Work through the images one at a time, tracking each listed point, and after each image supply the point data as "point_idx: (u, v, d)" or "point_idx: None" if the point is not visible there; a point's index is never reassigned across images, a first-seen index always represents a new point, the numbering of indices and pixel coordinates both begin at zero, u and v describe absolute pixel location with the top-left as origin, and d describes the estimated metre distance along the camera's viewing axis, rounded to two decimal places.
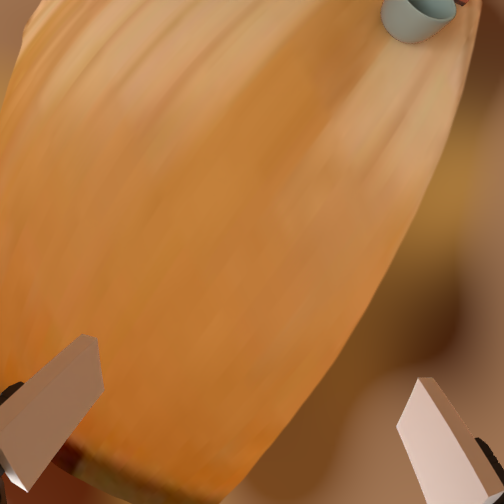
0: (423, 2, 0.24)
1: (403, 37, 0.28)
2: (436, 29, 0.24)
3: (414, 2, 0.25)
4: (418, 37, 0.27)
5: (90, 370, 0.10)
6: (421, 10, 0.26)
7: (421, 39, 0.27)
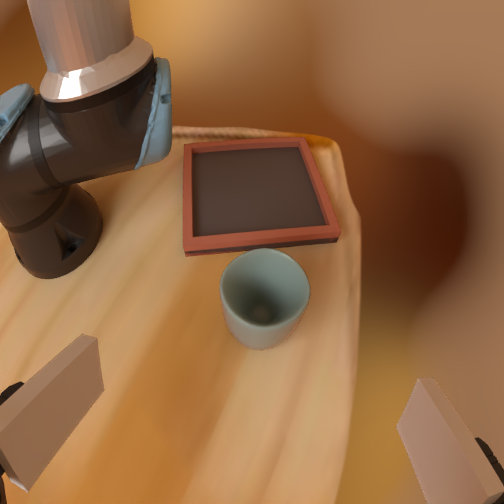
0: (271, 287, 0.31)
1: (258, 349, 0.30)
2: (290, 329, 0.27)
3: (262, 291, 0.32)
4: (273, 344, 0.29)
5: (90, 370, 0.10)
6: (273, 298, 0.32)
7: (280, 342, 0.30)
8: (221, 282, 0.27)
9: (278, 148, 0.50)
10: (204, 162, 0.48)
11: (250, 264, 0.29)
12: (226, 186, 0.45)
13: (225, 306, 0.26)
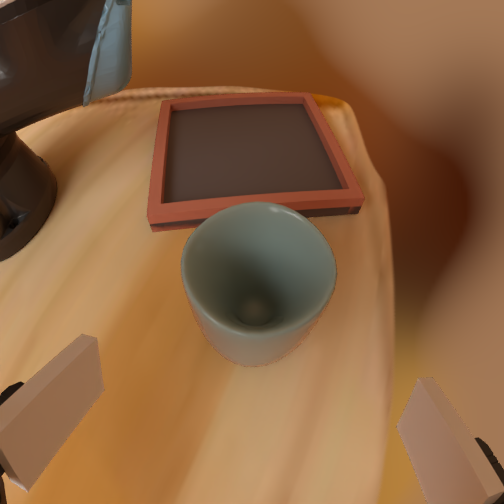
0: (270, 269, 0.20)
1: (249, 366, 0.19)
2: (301, 337, 0.16)
3: (256, 275, 0.20)
4: (273, 360, 0.18)
5: (90, 370, 0.10)
6: (273, 286, 0.20)
7: (284, 356, 0.19)
8: (183, 255, 0.15)
9: (278, 104, 0.39)
10: (185, 119, 0.36)
11: (235, 228, 0.18)
12: (211, 144, 0.33)
13: (188, 296, 0.15)
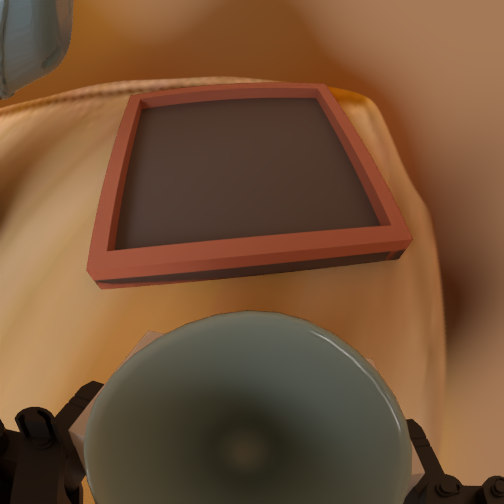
0: (274, 408, 0.10)
1: None
2: None
3: (247, 411, 0.10)
4: None
5: None
6: (277, 427, 0.10)
7: None
8: (86, 441, 0.05)
9: (283, 98, 0.29)
10: (157, 119, 0.26)
11: (200, 364, 0.08)
12: (189, 153, 0.23)
13: None
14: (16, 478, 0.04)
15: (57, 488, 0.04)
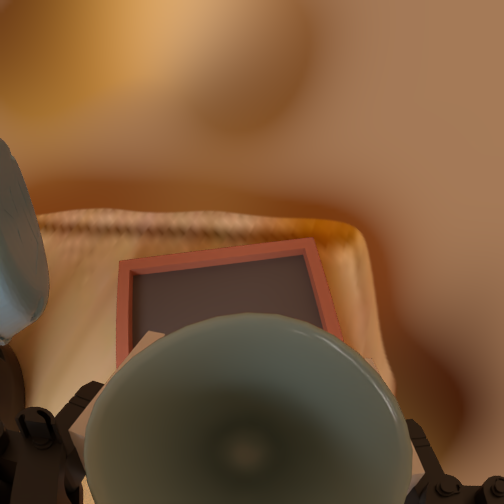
0: (274, 410, 0.10)
1: None
2: None
3: (247, 412, 0.10)
4: None
5: None
6: (278, 428, 0.10)
7: None
8: (86, 443, 0.05)
9: (270, 261, 0.32)
10: (150, 296, 0.29)
11: (200, 365, 0.08)
12: None
13: None
14: (15, 478, 0.04)
15: (57, 488, 0.04)
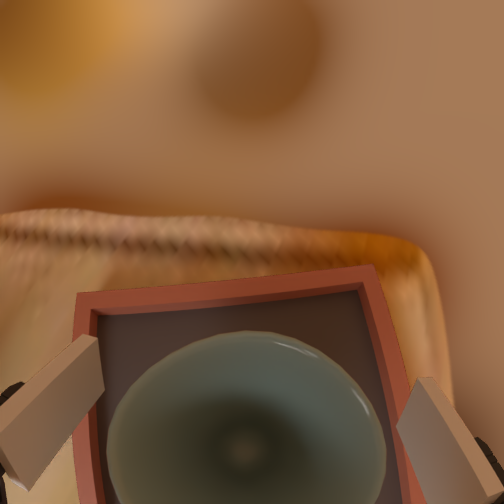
0: (270, 411, 0.11)
1: None
2: None
3: (246, 413, 0.12)
4: None
5: (91, 370, 0.10)
6: (273, 428, 0.11)
7: None
8: (109, 442, 0.07)
9: (310, 300, 0.20)
10: (122, 351, 0.18)
11: (205, 374, 0.09)
12: None
13: None
14: None
15: None
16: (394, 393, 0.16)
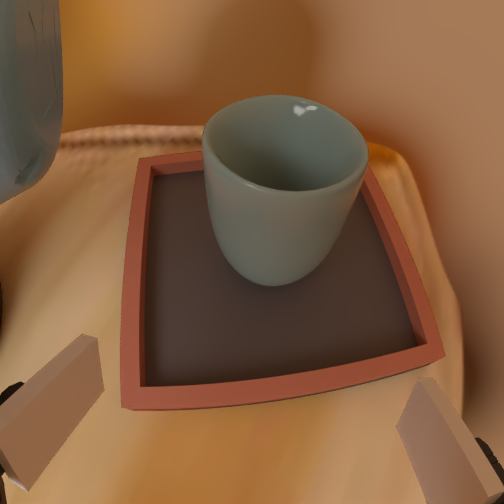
0: (293, 171, 0.18)
1: (271, 278, 0.17)
2: (335, 221, 0.14)
3: (277, 181, 0.19)
4: (300, 264, 0.16)
5: (90, 370, 0.10)
6: None
7: (311, 264, 0.17)
8: (205, 129, 0.14)
9: None
10: (173, 194, 0.25)
11: (258, 120, 0.16)
12: (215, 250, 0.22)
13: (210, 163, 0.13)
14: None
15: None
16: (383, 218, 0.23)
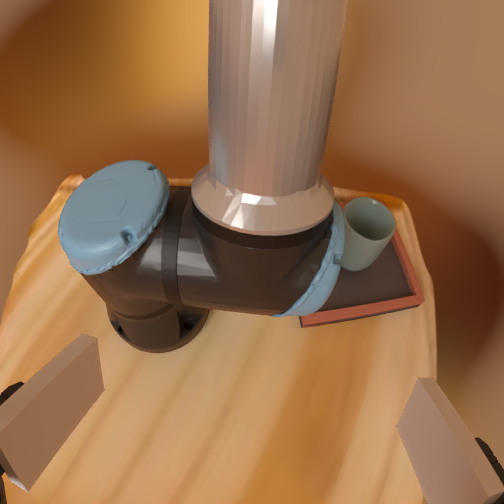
0: (365, 225, 0.44)
1: (358, 267, 0.44)
2: (384, 247, 0.40)
3: (358, 228, 0.45)
4: (370, 262, 0.43)
5: (90, 370, 0.10)
6: (365, 233, 0.45)
7: (372, 262, 0.43)
8: (344, 215, 0.40)
9: None
10: None
11: (355, 207, 0.42)
12: None
13: (349, 229, 0.39)
14: None
15: None
16: (396, 241, 0.49)
